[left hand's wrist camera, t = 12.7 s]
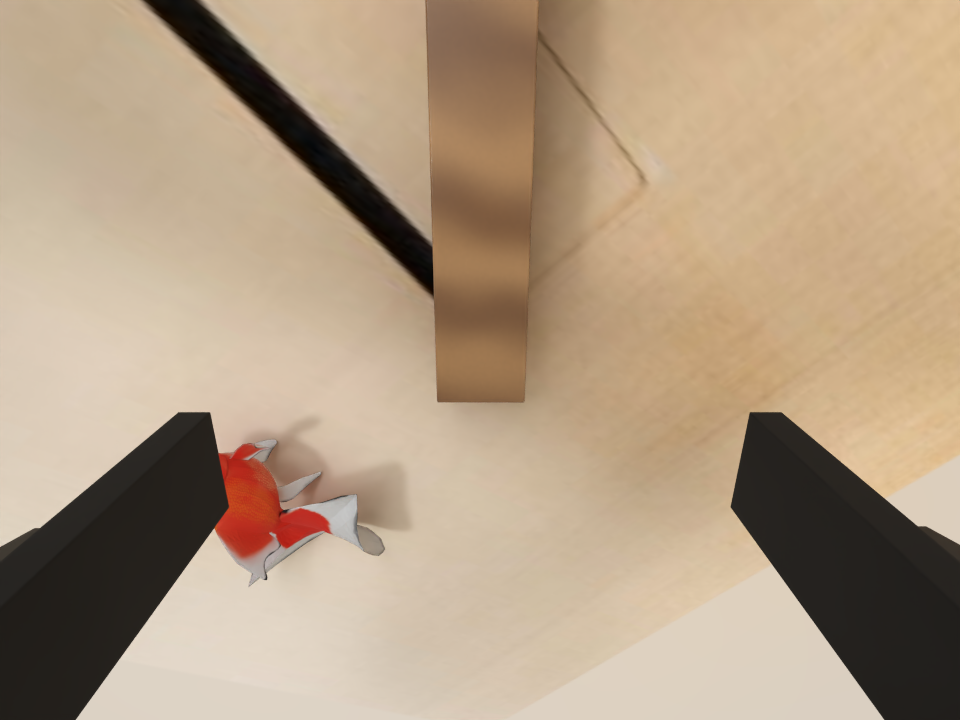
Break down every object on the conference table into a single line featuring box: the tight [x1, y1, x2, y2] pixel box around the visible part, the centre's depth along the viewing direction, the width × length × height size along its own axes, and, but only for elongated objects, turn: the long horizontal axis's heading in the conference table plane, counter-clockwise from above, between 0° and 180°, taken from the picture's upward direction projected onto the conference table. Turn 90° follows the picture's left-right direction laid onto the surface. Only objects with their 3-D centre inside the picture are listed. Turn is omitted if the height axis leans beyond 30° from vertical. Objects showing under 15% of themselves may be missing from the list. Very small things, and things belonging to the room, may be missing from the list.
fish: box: [215, 439, 385, 587], centre depth 38 cm, size 11×16×10 cm
